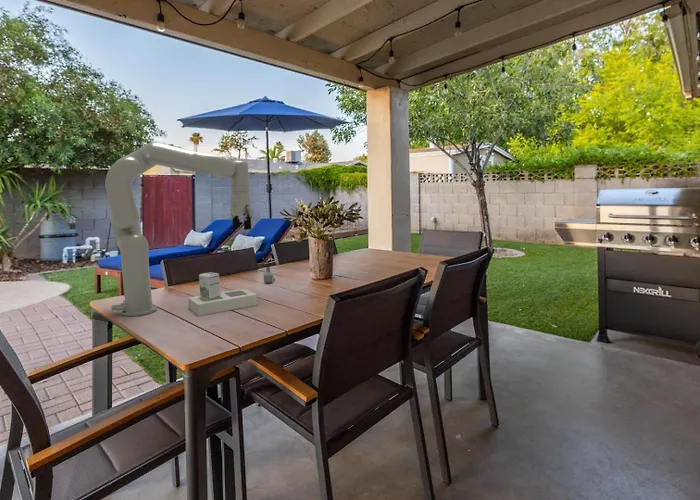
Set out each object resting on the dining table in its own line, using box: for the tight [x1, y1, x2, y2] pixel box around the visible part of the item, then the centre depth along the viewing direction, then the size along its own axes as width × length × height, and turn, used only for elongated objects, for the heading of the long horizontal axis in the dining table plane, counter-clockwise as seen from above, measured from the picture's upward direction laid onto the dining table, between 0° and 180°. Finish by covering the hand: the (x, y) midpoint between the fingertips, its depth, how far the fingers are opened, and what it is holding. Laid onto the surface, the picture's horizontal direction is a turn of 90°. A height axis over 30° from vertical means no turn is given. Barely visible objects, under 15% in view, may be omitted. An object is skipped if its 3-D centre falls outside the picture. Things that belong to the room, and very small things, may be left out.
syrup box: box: [198, 271, 221, 302], centre depth 166 cm, size 6×6×14 cm
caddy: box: [187, 288, 258, 317], centre depth 170 cm, size 24×13×5 cm, turn 126°
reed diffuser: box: [259, 243, 276, 283], centre depth 211 cm, size 10×7×20 cm
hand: (241, 228), depth 184 cm, fingers open, 9 cm apart
